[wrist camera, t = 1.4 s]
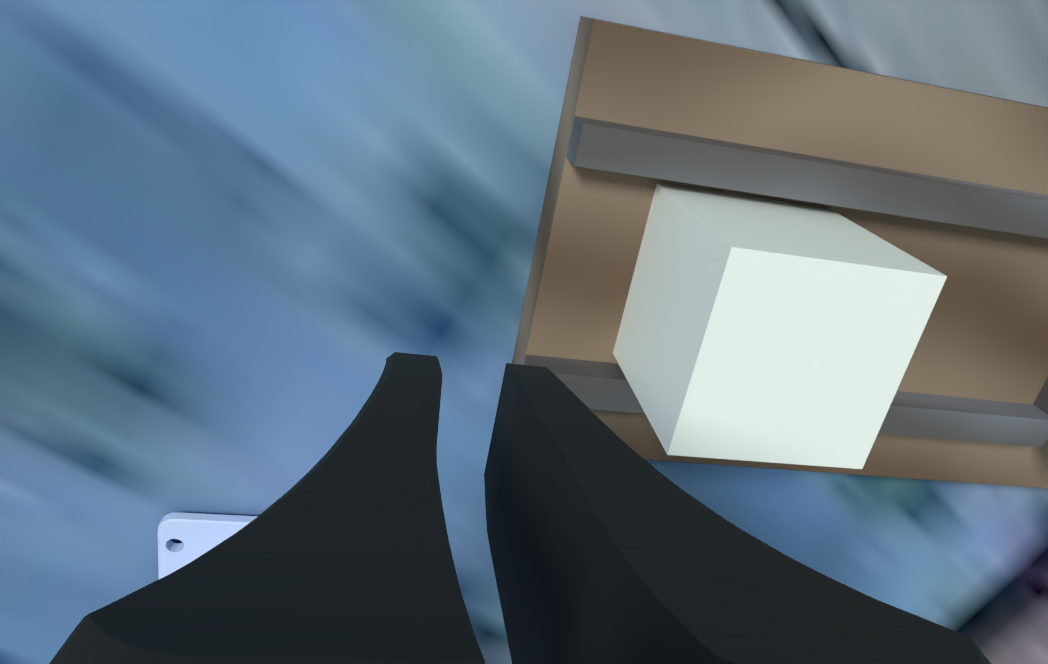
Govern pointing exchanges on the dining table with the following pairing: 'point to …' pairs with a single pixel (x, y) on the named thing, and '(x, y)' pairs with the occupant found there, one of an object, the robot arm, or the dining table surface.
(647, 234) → the pale grey cube
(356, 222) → the dining table surface
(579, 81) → the rail board
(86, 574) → the dining table surface
